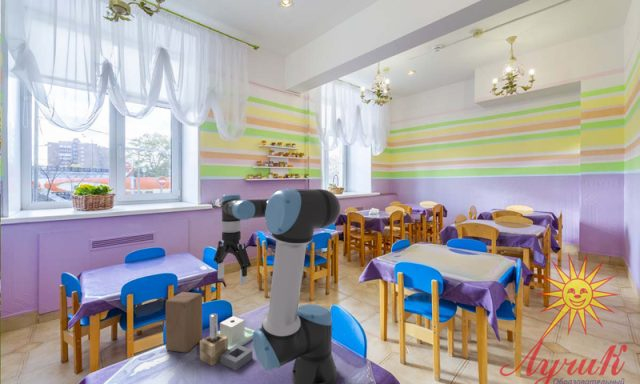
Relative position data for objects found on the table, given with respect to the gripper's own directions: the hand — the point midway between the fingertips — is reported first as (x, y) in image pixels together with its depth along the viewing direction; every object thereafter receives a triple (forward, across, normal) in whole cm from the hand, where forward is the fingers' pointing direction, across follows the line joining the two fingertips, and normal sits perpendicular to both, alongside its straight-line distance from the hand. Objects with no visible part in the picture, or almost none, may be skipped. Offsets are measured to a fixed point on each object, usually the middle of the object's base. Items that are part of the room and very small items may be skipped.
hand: (231, 281), depth 113 cm
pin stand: (+25, -13, +9) cm, 29 cm away
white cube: (+24, 0, 0) cm, 24 cm away
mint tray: (+25, 0, 0) cm, 25 cm away
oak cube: (+25, -4, +12) cm, 28 cm away
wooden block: (+25, +13, +13) cm, 31 cm away
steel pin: (+25, -4, +12) cm, 28 cm away
